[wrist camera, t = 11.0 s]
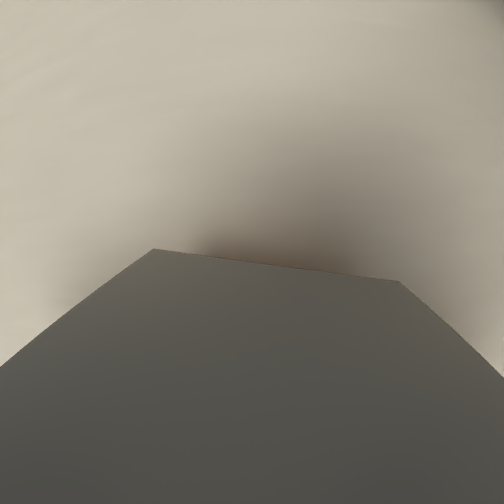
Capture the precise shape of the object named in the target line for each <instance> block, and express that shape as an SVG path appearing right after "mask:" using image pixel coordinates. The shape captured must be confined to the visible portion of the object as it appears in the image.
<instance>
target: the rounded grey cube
mask: <svg viewBox="0 0 504 504" xmlns="http://www.w3.org/2000/svg"><path fill="white" fill-rule="evenodd" d="M0 504H504V378H503V377H502V376H501V375H500V374H499V373H498V372H497V371H496V370H495V369H494V368H493V367H492V366H491V365H490V364H489V363H488V362H487V361H486V360H485V359H484V358H483V357H482V356H481V355H480V354H479V353H478V352H477V351H476V350H475V349H474V348H473V347H472V346H471V345H470V344H468V343H467V342H466V341H465V340H464V339H463V338H462V337H461V336H460V335H459V334H458V333H457V332H456V331H454V330H453V329H452V328H451V327H450V326H449V325H448V324H447V323H446V322H445V321H443V320H442V319H441V318H440V317H439V316H438V315H437V314H436V313H435V312H433V311H432V310H431V309H430V308H429V307H428V306H427V305H425V304H424V303H423V302H422V301H421V300H420V299H419V298H417V297H416V296H415V295H414V294H413V293H412V292H410V291H409V290H408V289H407V288H406V287H405V286H403V285H402V284H401V283H400V282H399V281H392V280H384V279H376V278H368V277H360V276H352V275H344V274H336V273H329V272H321V271H313V270H306V269H298V268H291V267H283V266H276V265H268V264H261V263H253V262H246V261H239V260H231V259H224V258H217V257H210V256H202V255H195V254H188V253H181V252H174V251H167V250H160V249H152V250H151V251H150V252H148V253H147V254H145V255H144V256H143V257H141V258H140V259H138V260H137V261H135V262H134V263H133V264H131V265H130V266H129V267H127V268H126V269H124V270H123V271H122V272H120V273H119V274H117V275H116V276H115V277H113V278H112V279H111V280H109V281H108V282H107V283H105V284H104V285H103V286H101V287H100V288H98V289H97V290H96V291H94V292H93V293H92V294H90V295H89V296H88V297H87V298H85V299H84V300H83V301H81V302H80V303H79V304H77V305H76V306H75V307H73V308H72V309H71V310H70V311H68V312H67V313H66V314H64V315H63V316H62V317H61V318H59V319H58V320H57V321H56V322H54V323H53V324H52V325H50V326H49V327H48V328H47V329H45V330H44V331H43V332H42V333H41V334H39V335H38V336H37V337H36V338H34V339H33V340H32V341H31V342H29V343H28V344H27V345H26V346H25V347H23V348H22V349H21V350H20V351H19V352H17V353H16V354H15V355H14V356H13V357H11V358H10V359H9V360H8V361H7V362H6V363H4V364H3V365H2V366H1V367H0Z"/></svg>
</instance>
